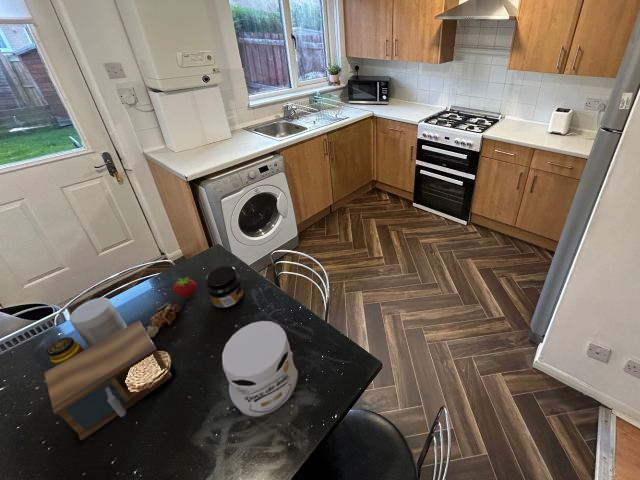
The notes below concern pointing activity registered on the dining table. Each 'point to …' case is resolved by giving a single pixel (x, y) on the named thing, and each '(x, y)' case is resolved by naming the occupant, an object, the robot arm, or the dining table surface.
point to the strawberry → (185, 287)
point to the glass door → (99, 404)
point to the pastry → (161, 318)
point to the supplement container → (224, 287)
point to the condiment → (63, 350)
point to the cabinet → (101, 373)
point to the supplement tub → (96, 320)
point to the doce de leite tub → (259, 368)
